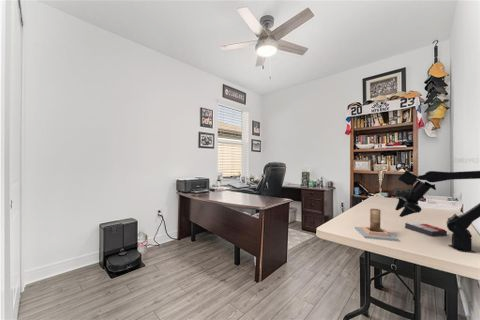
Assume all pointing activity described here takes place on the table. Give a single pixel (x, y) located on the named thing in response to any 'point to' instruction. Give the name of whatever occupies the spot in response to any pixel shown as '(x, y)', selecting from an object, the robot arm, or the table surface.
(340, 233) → the table surface
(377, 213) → the column
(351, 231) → the table surface
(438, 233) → the grey and red box
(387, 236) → the plinth
